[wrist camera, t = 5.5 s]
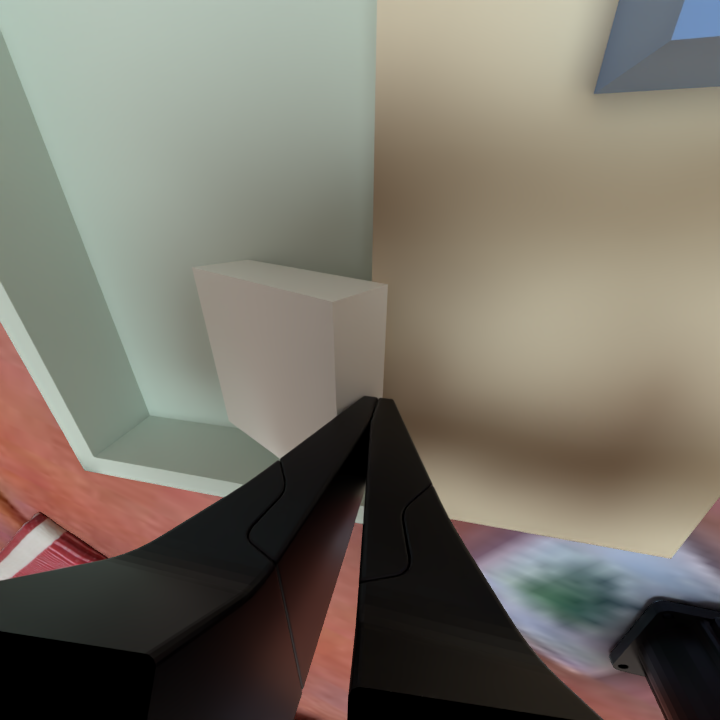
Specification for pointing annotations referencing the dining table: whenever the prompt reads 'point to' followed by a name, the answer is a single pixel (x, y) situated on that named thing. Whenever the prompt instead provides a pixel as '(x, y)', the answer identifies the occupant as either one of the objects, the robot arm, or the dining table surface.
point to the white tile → (291, 346)
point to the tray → (171, 203)
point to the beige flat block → (547, 272)
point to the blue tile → (662, 46)
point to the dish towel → (43, 549)
